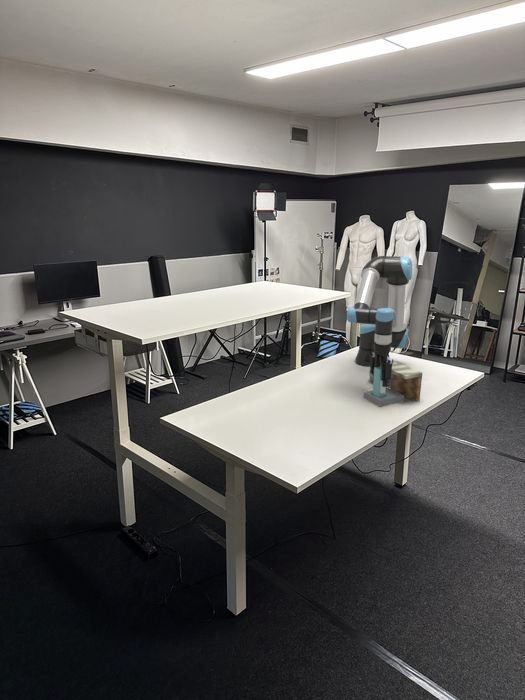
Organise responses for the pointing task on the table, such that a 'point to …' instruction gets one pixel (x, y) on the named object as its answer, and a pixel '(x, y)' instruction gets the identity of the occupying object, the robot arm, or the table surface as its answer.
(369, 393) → the socket
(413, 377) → the wood grain block
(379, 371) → the peg
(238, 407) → the table surface
